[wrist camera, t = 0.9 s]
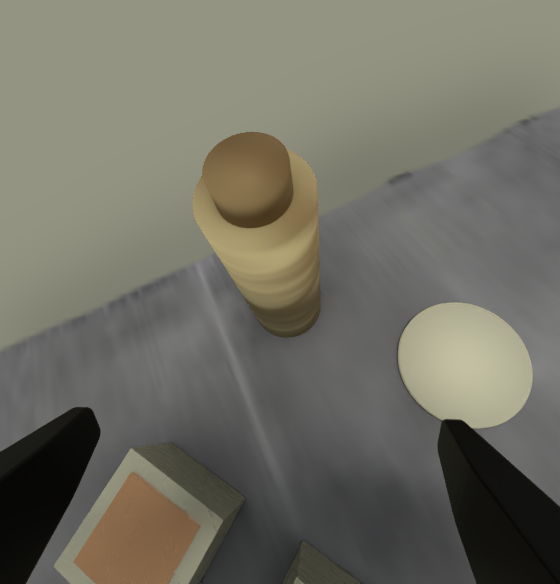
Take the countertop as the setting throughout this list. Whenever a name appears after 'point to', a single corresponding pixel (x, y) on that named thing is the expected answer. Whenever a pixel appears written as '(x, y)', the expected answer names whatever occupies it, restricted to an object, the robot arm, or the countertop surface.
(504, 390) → the coaster
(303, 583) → the spice tin
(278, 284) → the pepper mill
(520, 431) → the countertop surface
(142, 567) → the spice tin
